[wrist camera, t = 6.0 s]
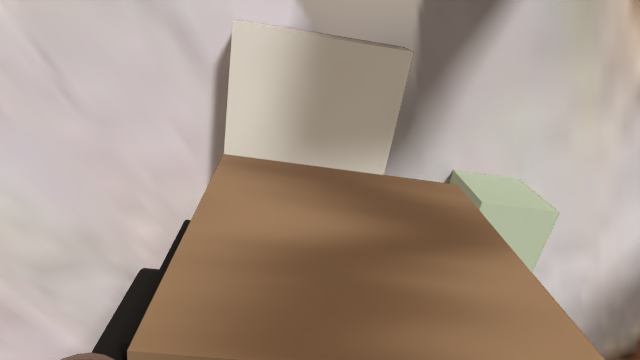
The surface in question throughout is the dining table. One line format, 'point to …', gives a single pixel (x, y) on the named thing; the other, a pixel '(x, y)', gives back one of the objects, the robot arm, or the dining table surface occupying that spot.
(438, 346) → the walnut block
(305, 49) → the stone base
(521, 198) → the sage block
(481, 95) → the dining table surface
